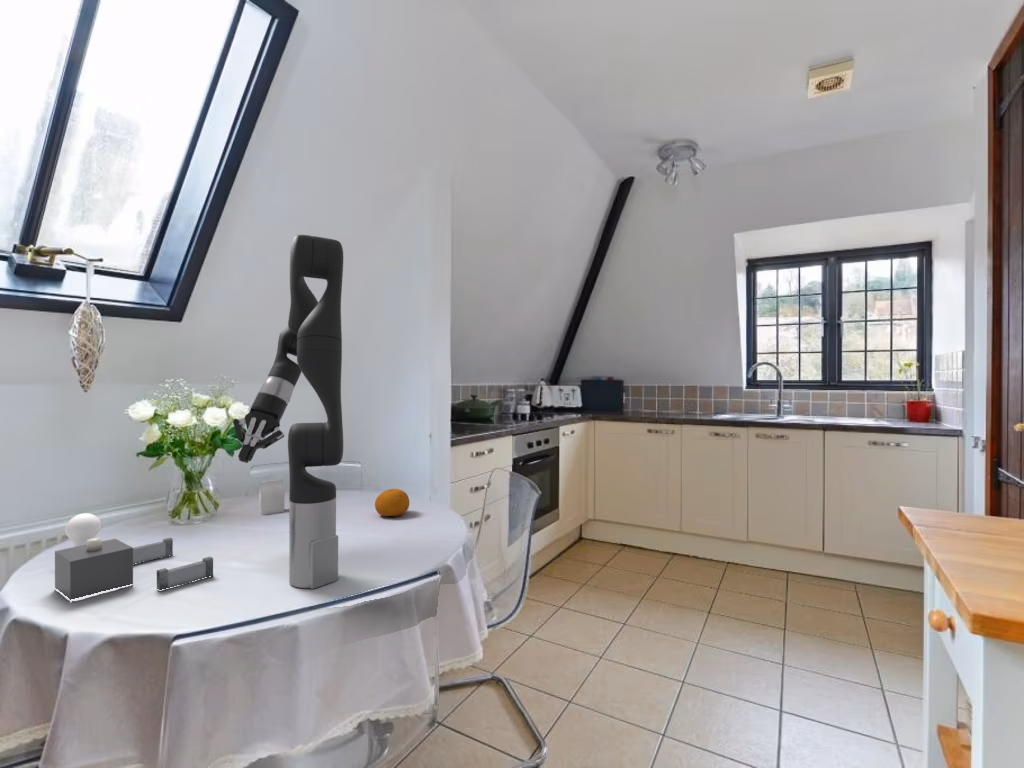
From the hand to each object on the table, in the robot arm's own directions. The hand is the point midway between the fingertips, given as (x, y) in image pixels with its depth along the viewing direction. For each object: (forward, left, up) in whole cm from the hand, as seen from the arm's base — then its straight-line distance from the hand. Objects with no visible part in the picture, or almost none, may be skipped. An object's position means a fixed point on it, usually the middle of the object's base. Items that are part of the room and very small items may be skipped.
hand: (243, 461), depth 124 cm
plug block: (+3, +28, -23) cm, 36 cm away
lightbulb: (+24, +25, -23) cm, 41 cm away
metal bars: (+2, +16, -22) cm, 27 cm away
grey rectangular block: (+32, -24, -23) cm, 46 cm away
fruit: (-1, -45, -23) cm, 50 cm away
